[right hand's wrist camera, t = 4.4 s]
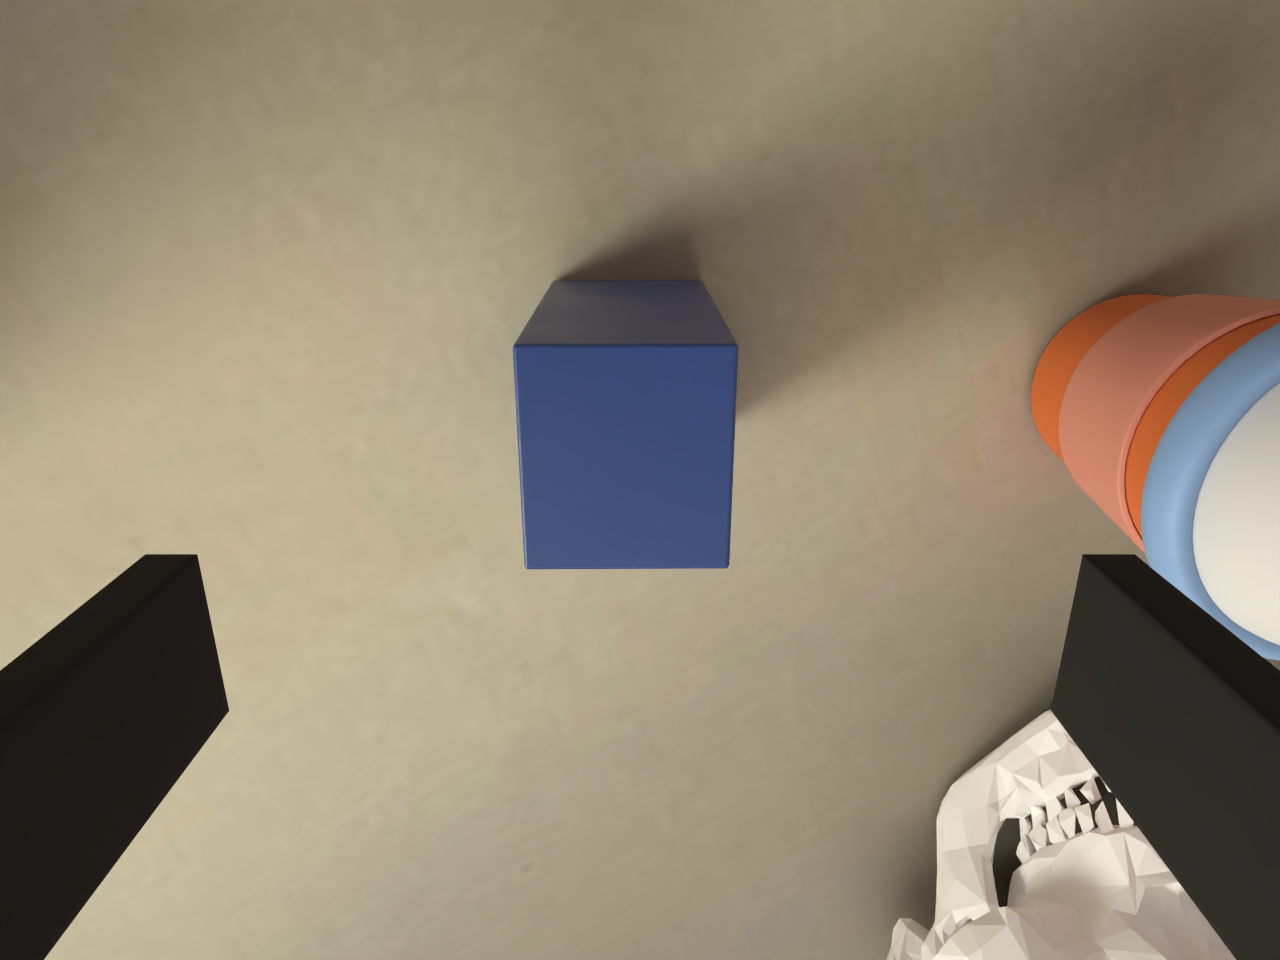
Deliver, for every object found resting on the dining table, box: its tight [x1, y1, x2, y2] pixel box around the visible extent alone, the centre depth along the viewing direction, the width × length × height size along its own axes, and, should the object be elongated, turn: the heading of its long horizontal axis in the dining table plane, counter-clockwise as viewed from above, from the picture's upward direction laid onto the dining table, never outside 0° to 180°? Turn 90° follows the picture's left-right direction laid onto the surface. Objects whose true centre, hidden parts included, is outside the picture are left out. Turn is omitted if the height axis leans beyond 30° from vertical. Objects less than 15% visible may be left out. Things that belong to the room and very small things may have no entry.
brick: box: [513, 280, 738, 569], centre depth 24 cm, size 5×6×10 cm
